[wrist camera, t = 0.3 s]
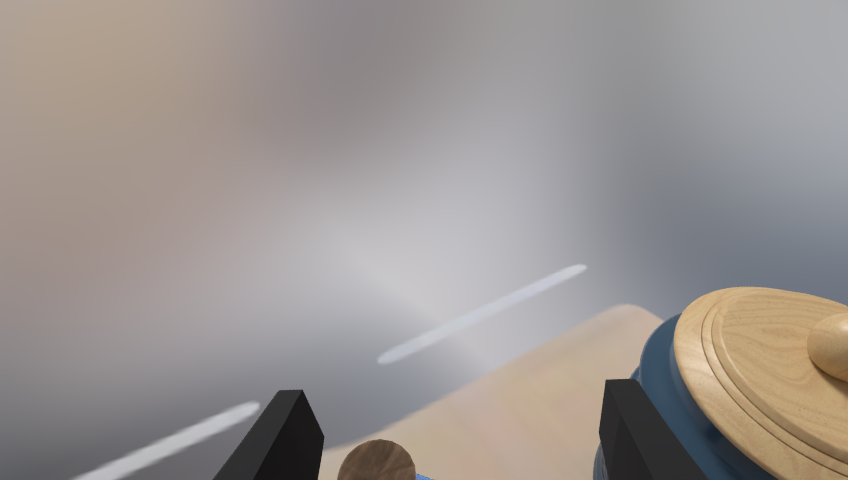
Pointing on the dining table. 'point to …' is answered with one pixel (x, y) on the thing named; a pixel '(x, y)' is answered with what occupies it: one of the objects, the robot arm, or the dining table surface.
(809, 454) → the canister
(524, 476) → the dining table surface
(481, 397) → the dining table surface
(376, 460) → the perfume bottle
